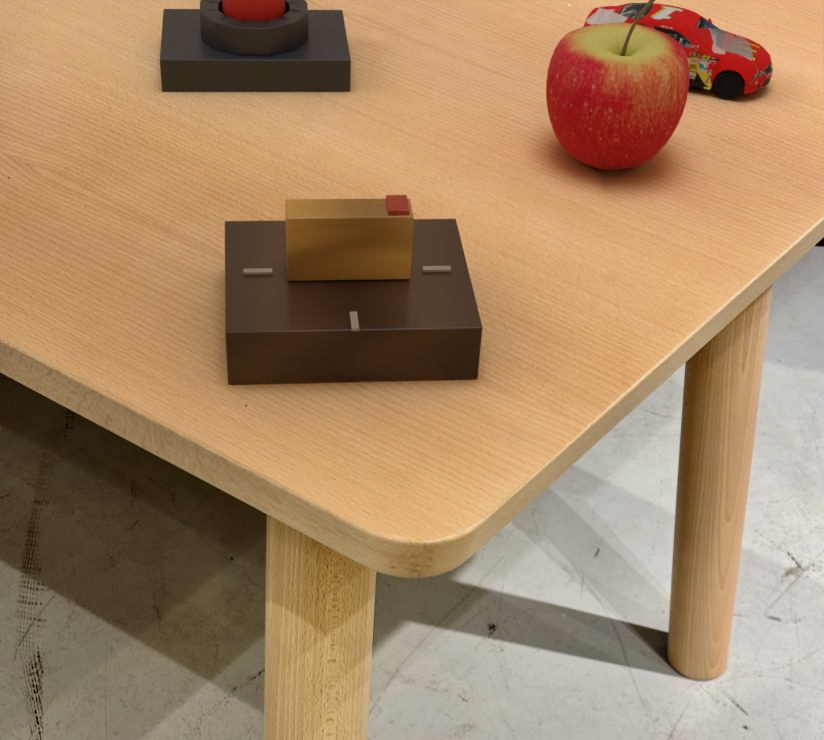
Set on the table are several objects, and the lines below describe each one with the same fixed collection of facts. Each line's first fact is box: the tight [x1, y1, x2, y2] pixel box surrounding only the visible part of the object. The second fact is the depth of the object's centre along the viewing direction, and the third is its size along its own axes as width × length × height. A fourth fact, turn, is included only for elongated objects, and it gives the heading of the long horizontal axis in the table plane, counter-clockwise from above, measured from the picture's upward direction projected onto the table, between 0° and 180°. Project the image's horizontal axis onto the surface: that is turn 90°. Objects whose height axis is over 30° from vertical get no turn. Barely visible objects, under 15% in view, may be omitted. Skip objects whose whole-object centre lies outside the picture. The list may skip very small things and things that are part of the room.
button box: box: [159, 0, 352, 93], centre depth 90 cm, size 12×8×4 cm, turn 96°
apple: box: [545, 0, 690, 171], centre depth 81 cm, size 8×8×10 cm
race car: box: [582, 2, 774, 100], centre depth 93 cm, size 13×5×4 cm, turn 69°
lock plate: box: [224, 218, 483, 385], centre depth 69 cm, size 12×10×3 cm
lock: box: [284, 194, 415, 281], centre depth 67 cm, size 6×2×4 cm, turn 96°
